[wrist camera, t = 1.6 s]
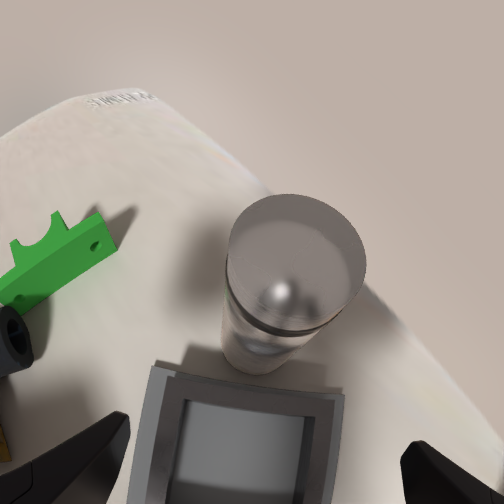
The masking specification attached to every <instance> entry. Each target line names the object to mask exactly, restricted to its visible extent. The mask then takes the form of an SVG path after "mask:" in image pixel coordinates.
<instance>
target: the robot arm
mask: <svg viewBox="0 0 504 504" xmlns="http://www.w3.org/2000/svg"><path fill="white" fill-rule="evenodd" d="M130 433H131V431H130V421H129V416H128V415H127V414H125V413H122V412H119V411H114V412H112V413H111V414H109V415H108V416H106V417H104V418H103V419H101V420H100V421H98V422H96V423H95V424H93V425H91V426H90V427H88V428H87V429H85V430H83V431H82V432H80V433H78V434H77V435H75V436H73V437H72V438H70V439H68V440H67V441H65V442H63V443H62V444H60V445H58V446H56V447H55V448H53V449H51V450H50V451H48V452H46V453H44V454H43V455H41V456H39V457H37V458H35V459H34V460H32V462H28V463H26V464H24V465H23V466H21V467H19V468H17V469H15V470H13V471H10V472H8V473H6V474H3V475H1V476H0V504H106V503H107V500H108V498H109V496H110V494H111V491H112V489H113V487H114V485H115V483H116V480H117V478H118V475H119V472H120V468H121V465H122V462H123V458H124V455H125V452H126V449H127V445H128V442H129V439H130ZM400 465H401V472H402V480H403V488H404V496H405V501H406V504H504V496H502V495H501V494H499V493H497V492H496V491H494V490H493V489H491V488H489V487H488V486H487V485H485V484H484V483H482V482H481V481H480V480H478V479H477V478H475V477H474V476H472V475H471V474H469V473H468V472H466V471H465V470H464V469H462V468H461V467H459V466H458V465H456V464H455V463H454V462H452V461H451V460H449V459H448V458H447V457H445V456H444V455H442V454H441V453H440V452H438V451H437V450H436V449H434V448H433V447H431V446H430V445H429V444H427V443H426V442H425V441H422V440H420V441H413V442H412V443H411V444H410V445H409V446H408V448H407V449H406V451H405V452H404V453H403V455H402V456H401V459H400Z"/></svg>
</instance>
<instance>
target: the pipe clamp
mask: <svg viewBox="0 0 504 504" xmlns="http://www.w3.org/2000/svg"><path fill="white" fill-rule="evenodd" d="M10 247H11V251H12V254H13V258H14V262H15V265H16V266H15V267H14V268H13V269H11V270H10V271H9V272H7V273H6V274H5V275H3V276H2V277H1V278H0V303H2V304H3V305H4V306H11V307H12V308H14V309H15V310H16V311H17V312H18V313H19V315H20V316H22V315H23V314H25V313H26V312H27V311H29V310H30V309H31V308H33V307H34V306H36V305H37V304H38V303H40V302H41V301H43V300H44V299H45V298H47V297H48V296H50V295H51V294H53V293H54V292H55V291H57V290H58V289H60V288H61V287H63V286H64V285H66V284H67V283H69V282H70V281H72V280H73V279H74V278H76V277H77V276H79V275H80V274H82V273H83V272H85V271H87V270H88V269H90V268H91V267H93V266H94V265H96V264H97V263H99V262H100V261H102V260H103V259H105V258H107V257H108V256H110V255H111V254H113V253H115V252H116V251H117V249H116V247H115V244H114V242H113V240H112V238H111V236H110V234H109V231H108V229H107V227H106V225H105V222H104V220H103V218H102V217H101V215H100V213H99V212H97V213H95V214H93V215H92V216H90V217H88V218H87V219H85V220H84V221H82V222H80V223H79V224H77V225H76V226H74V227H72V228H71V229H68V227H67V226H66V224H65V222H64V220H63V219H62V217H61V215H60V213H59V212H58V211H56V212H55V213H53V214H51V226H50V228H49V230H48V232H47V234H46V235H45V236H44V237H43V238H42V239H41V240H40V241H39V242H37V243H36V244H34V245H31V246H22V245H21V244H20V243H19V242H18V240H17V239H15V240H13V241H12V242H11V243H10Z"/></svg>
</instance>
